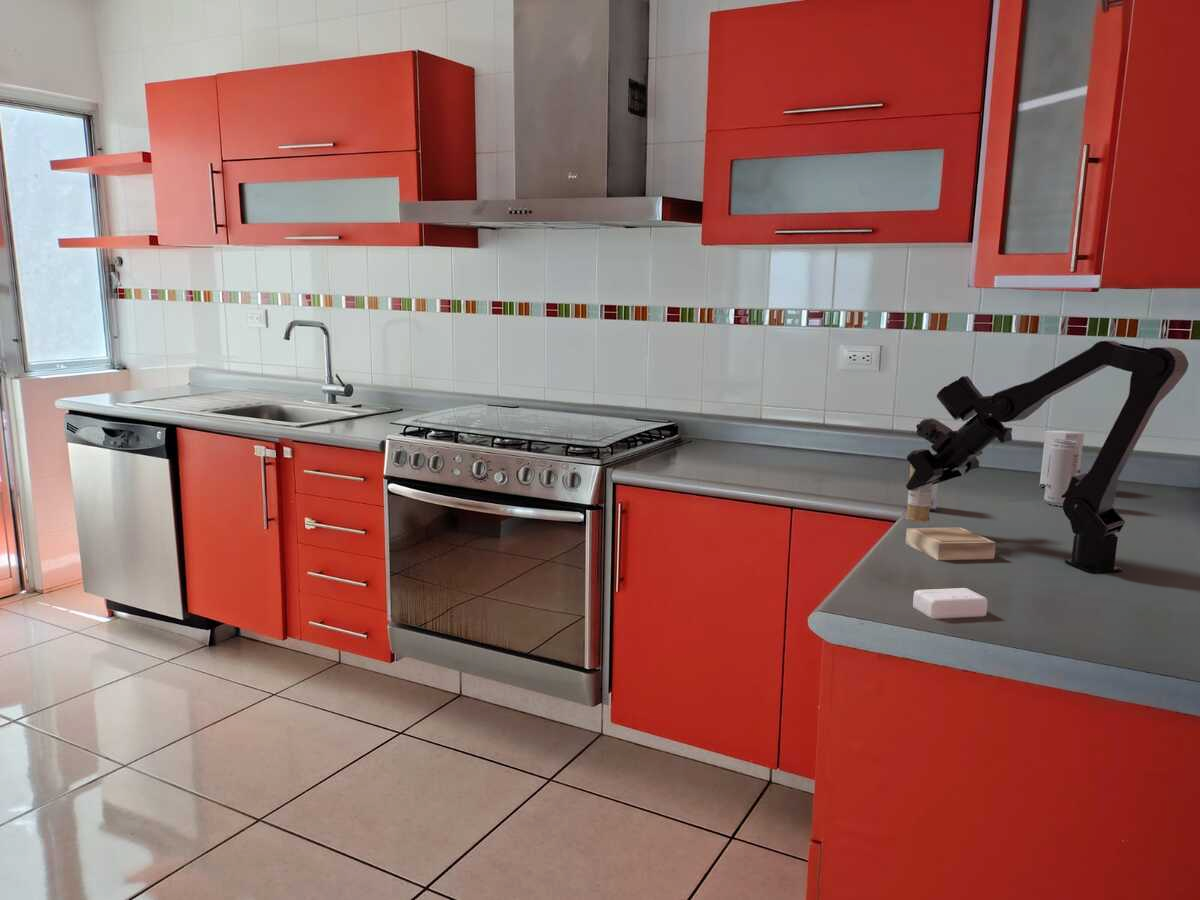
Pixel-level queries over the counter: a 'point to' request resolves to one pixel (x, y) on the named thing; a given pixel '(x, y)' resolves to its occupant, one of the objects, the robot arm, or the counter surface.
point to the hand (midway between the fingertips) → (914, 487)
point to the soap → (950, 603)
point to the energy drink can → (1060, 469)
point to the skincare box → (1049, 440)
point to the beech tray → (950, 543)
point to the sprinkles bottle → (919, 502)
